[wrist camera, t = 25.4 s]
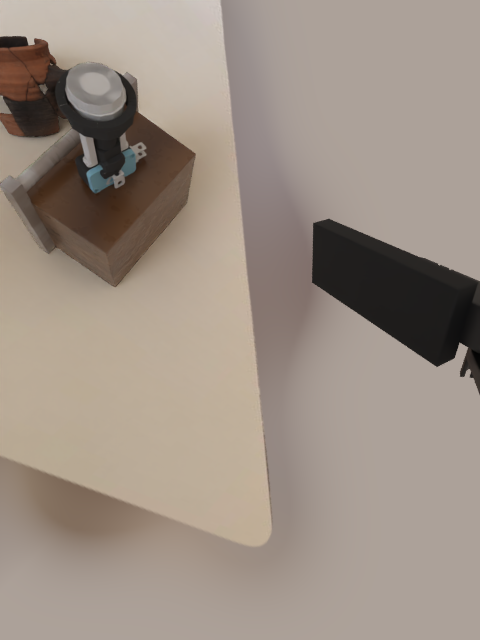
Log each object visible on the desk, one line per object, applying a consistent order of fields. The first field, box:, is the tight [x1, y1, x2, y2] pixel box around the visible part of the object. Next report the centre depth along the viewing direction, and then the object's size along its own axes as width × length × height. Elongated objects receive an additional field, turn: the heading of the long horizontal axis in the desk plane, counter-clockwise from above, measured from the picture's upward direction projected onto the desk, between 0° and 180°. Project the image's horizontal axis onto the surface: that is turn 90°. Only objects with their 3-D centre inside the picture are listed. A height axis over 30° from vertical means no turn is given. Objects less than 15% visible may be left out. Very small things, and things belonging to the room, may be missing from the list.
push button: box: [55, 62, 146, 193], centre depth 29 cm, size 7×5×10 cm
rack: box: [0, 72, 196, 287], centre depth 37 cm, size 9×16×12 cm, turn 149°
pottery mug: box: [0, 36, 73, 137], centre depth 41 cm, size 12×10×8 cm
